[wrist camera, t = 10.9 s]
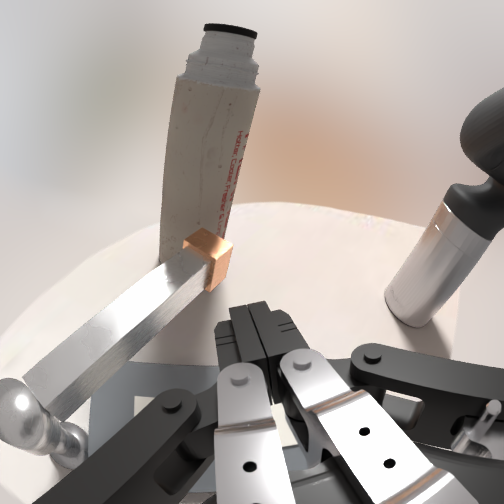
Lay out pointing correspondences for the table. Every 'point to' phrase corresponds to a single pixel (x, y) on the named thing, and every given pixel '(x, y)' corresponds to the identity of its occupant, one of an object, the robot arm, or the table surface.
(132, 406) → the label tray
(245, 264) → the table surface
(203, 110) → the thermos bottle
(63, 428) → the post
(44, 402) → the swing arm
